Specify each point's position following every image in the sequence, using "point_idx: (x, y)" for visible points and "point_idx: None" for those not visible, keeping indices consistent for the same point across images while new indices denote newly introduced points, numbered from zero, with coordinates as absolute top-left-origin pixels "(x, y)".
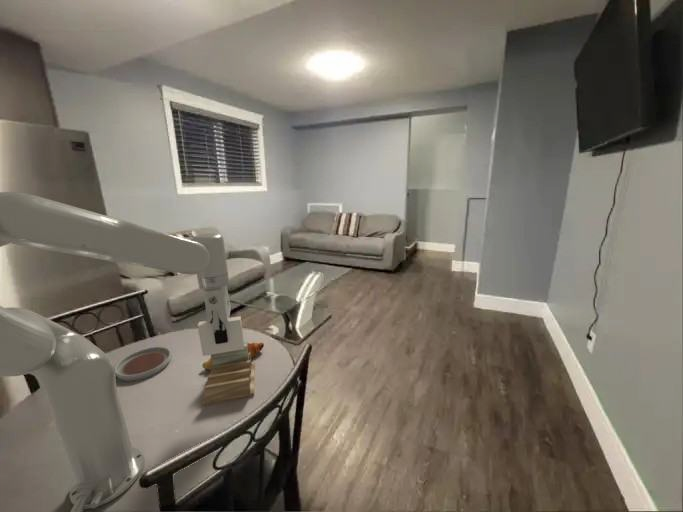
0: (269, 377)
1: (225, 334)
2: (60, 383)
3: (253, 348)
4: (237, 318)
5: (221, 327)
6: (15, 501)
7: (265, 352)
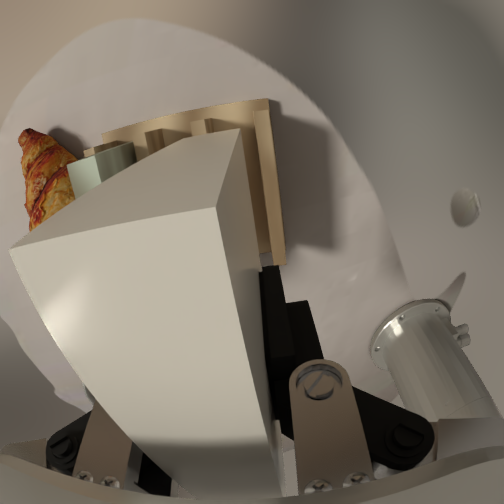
0: (179, 62)
1: (286, 322)
2: None
3: (47, 155)
4: (126, 309)
5: (419, 429)
6: (390, 399)
7: (48, 118)
